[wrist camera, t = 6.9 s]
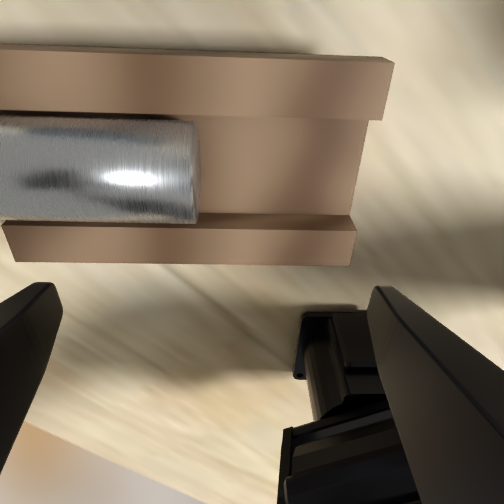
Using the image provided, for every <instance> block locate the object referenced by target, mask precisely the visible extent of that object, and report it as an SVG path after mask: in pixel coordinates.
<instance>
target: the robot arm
mask: <svg viewBox="0 0 504 504" xmlns="http://www.w3.org/2000/svg"><path fill="white" fill-rule="evenodd" d="M62 315H63V307H62V304H61V301H60V298H59V295H58V292H57V289H56V287H55V285H54V284H53V283H51V282H35V283H33V284H31V285H29V286H28V287H26V288H24V289H23V290H21V291H20V292H18V293H16V294H15V295H13V296H11V297H10V298H8V299H6V300H5V301H3V302H1V303H0V474H1V471H2V469H3V467H4V464H5V462H6V460H7V458H8V455H9V453H10V451H11V449H12V446H13V444H14V442H15V439H16V437H17V435H18V432H19V430H20V428H21V426H22V423H23V421H24V419H25V417H26V414H27V412H28V410H29V408H30V405H31V403H32V401H33V398H34V396H35V394H36V392H37V389H38V387H39V385H40V383H41V380H42V378H43V375H44V373H45V370H46V367H47V364H48V361H49V358H50V355H51V352H52V348H53V345H54V342H55V339H56V335H57V332H58V329H59V326H60V322H61V319H62ZM307 319H310V320H307ZM293 377H294V378H295V379H298V380H307V384H308V390H309V396H310V402H311V408H312V414H313V420H314V422H311V423H307V424H304V425H301V426H298V427H294V428H293V427H289V428H286V429H284V430H283V440H282V446H281V459H280V471H279V484H278V497H277V504H504V371H503V370H502V369H501V368H499V367H498V366H497V365H496V364H494V363H493V362H492V361H490V360H489V359H488V358H486V357H485V356H484V355H482V354H481V353H480V352H478V351H477V350H476V349H474V348H473V347H472V346H470V345H469V344H468V343H466V342H465V341H464V340H462V339H461V338H460V337H458V336H457V335H456V334H455V333H453V332H452V331H451V330H449V329H448V328H447V327H445V326H444V325H443V324H441V323H440V322H439V321H437V320H436V319H435V318H433V317H432V316H431V315H429V314H428V313H427V312H425V311H424V310H423V309H421V308H420V307H419V306H417V305H416V304H415V303H414V302H412V301H411V300H410V299H408V298H407V297H406V296H404V295H403V294H402V293H400V292H399V291H398V290H396V289H395V288H394V287H392V286H376V287H374V289H373V291H372V295H371V298H370V302H369V305H368V309H367V313H366V312H306V313H304V314H302V315H301V317H300V324H299V331H298V338H297V344H296V351H295V358H294V365H293Z"/></svg>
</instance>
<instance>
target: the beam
mask: <svg viewBox="0 0 504 504" xmlns="http://www.w3.org/2000/svg"><path fill="white" fill-rule="evenodd" d="M394 64H395V63H394V62H392V61H390V60H387V59H385V58H383V57H369V56H340V55H311V54H283V53H254V52H225V51H196V50H167V49H138V48H109V47H80V46H52V45H23V44H0V115H21V116H53V117H85V118H118V119H150V120H182V121H196V123H197V127H198V133H199V142H200V160H201V190H200V207H199V215H198V220H197V223H196V224H171V223H121V222H71V221H20V220H6V221H5V222H4V223H3V224H2V225H1V226H2V229H3V231H4V234H5V236H6V239H7V241H8V244H9V246H10V249H11V251H12V254H13V256H14V259H15V261H16V262H73V263H152V264H232V265H311V266H349V265H350V260H351V256H352V251H353V247H354V242H355V238H356V233H357V230H356V228H355V226H354V224H353V222H352V220H351V218H350V216H349V214H350V209H351V205H352V200H353V195H354V190H355V185H356V180H357V175H358V170H359V166H360V161H361V156H362V151H363V146H364V141H365V136H366V131H367V127H368V122H369V120H382V118H383V113H384V109H385V104H386V100H387V95H388V91H389V87H390V82H391V78H392V73H393V69H394Z"/></svg>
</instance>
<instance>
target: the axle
mask: <svg viewBox="0 0 504 504" xmlns="http://www.w3.org/2000/svg"><path fill="white" fill-rule="evenodd" d="M200 190H201V160H200V142H199V133H198V127H197V123H196V121H182V120H150V119H118V118H85V117H53V116H21V115H0V220H20V221H71V222H121V223H171V224H196V223H197V220H198V215H199V207H200Z"/></svg>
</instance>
